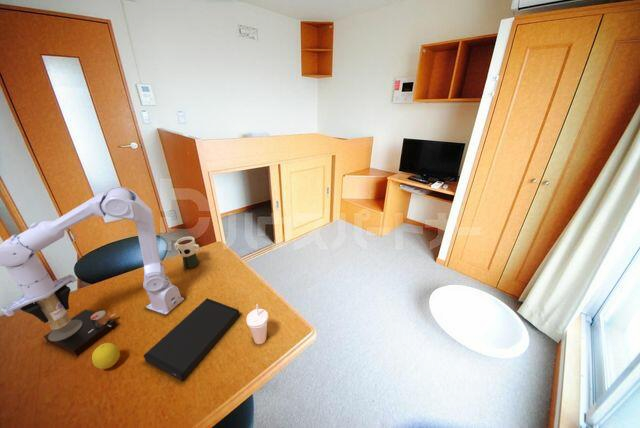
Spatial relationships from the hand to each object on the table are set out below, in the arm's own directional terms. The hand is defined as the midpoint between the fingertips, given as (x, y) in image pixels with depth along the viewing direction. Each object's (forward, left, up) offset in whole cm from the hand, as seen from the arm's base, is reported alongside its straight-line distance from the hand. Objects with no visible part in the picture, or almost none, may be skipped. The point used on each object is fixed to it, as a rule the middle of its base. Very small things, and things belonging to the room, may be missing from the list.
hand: (56, 314), depth 71 cm
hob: (-4, -3, -9) cm, 11 cm away
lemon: (-22, +2, -10) cm, 24 cm away
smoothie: (-57, -19, -10) cm, 61 cm away
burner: (0, 0, -7) cm, 7 cm away
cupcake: (-7, -5, -7) cm, 12 cm away
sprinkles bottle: (0, 0, -4) cm, 4 cm away
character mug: (-8, -41, -10) cm, 43 cm away
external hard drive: (-38, -13, -10) cm, 41 cm away
